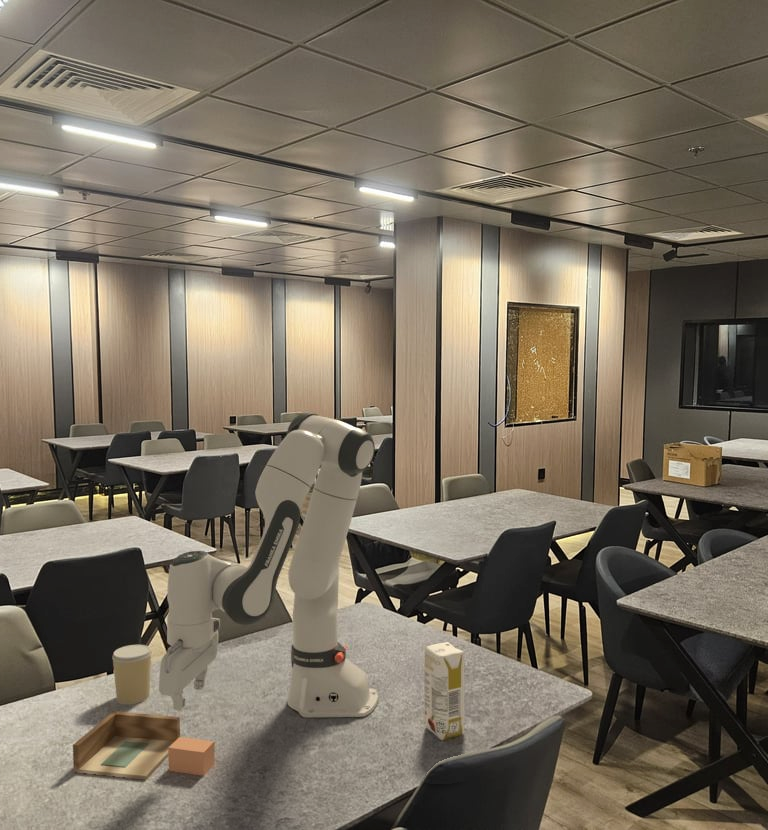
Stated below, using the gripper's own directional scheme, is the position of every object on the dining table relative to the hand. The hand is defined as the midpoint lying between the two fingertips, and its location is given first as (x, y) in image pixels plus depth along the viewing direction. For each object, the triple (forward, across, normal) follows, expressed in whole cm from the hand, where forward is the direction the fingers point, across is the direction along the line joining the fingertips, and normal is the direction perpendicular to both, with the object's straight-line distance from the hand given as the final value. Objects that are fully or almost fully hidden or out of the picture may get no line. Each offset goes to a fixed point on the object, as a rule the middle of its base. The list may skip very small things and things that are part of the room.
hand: (189, 698), depth 148 cm
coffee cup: (+15, +29, +28) cm, 43 cm away
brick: (+15, 0, 0) cm, 15 cm away
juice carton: (+14, +24, -51) cm, 58 cm away
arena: (+15, +2, +15) cm, 21 cm away
